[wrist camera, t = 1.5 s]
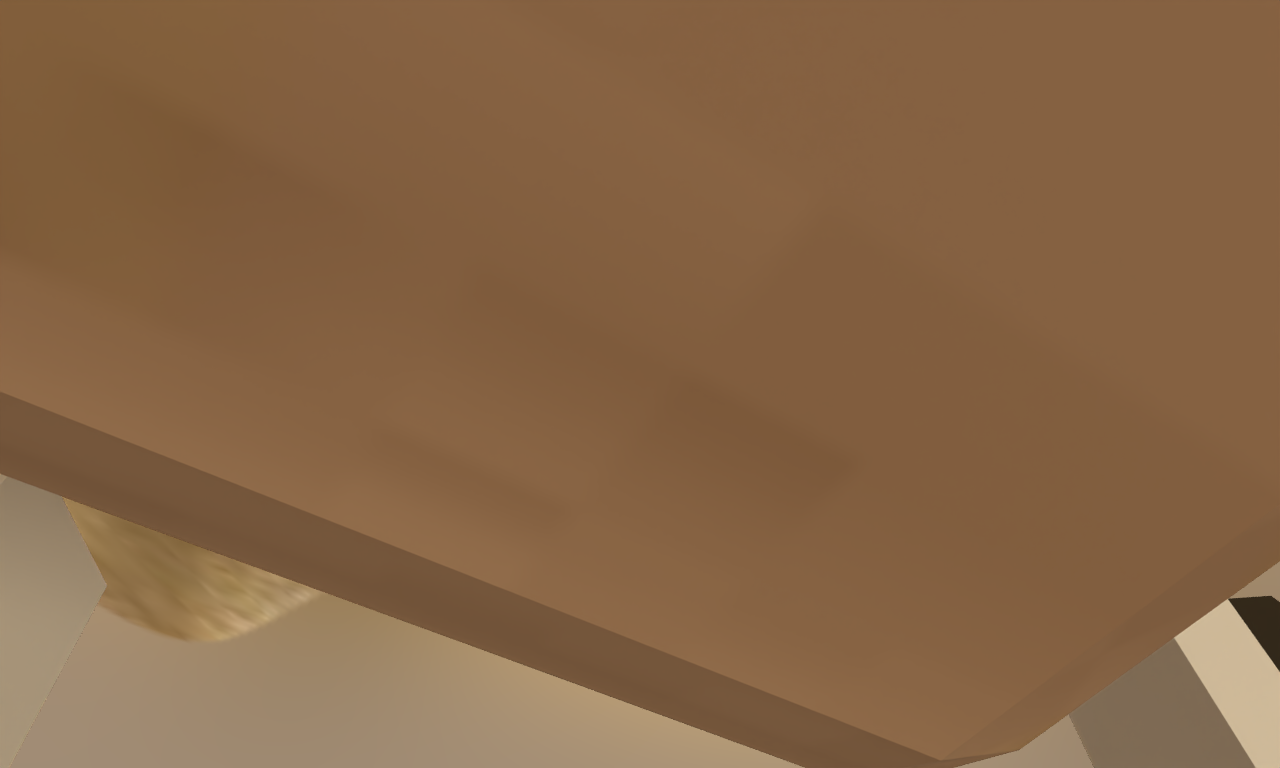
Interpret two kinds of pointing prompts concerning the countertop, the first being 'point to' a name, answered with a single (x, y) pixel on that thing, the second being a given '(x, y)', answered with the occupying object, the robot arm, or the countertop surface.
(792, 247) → the wooden block
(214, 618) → the countertop surface
